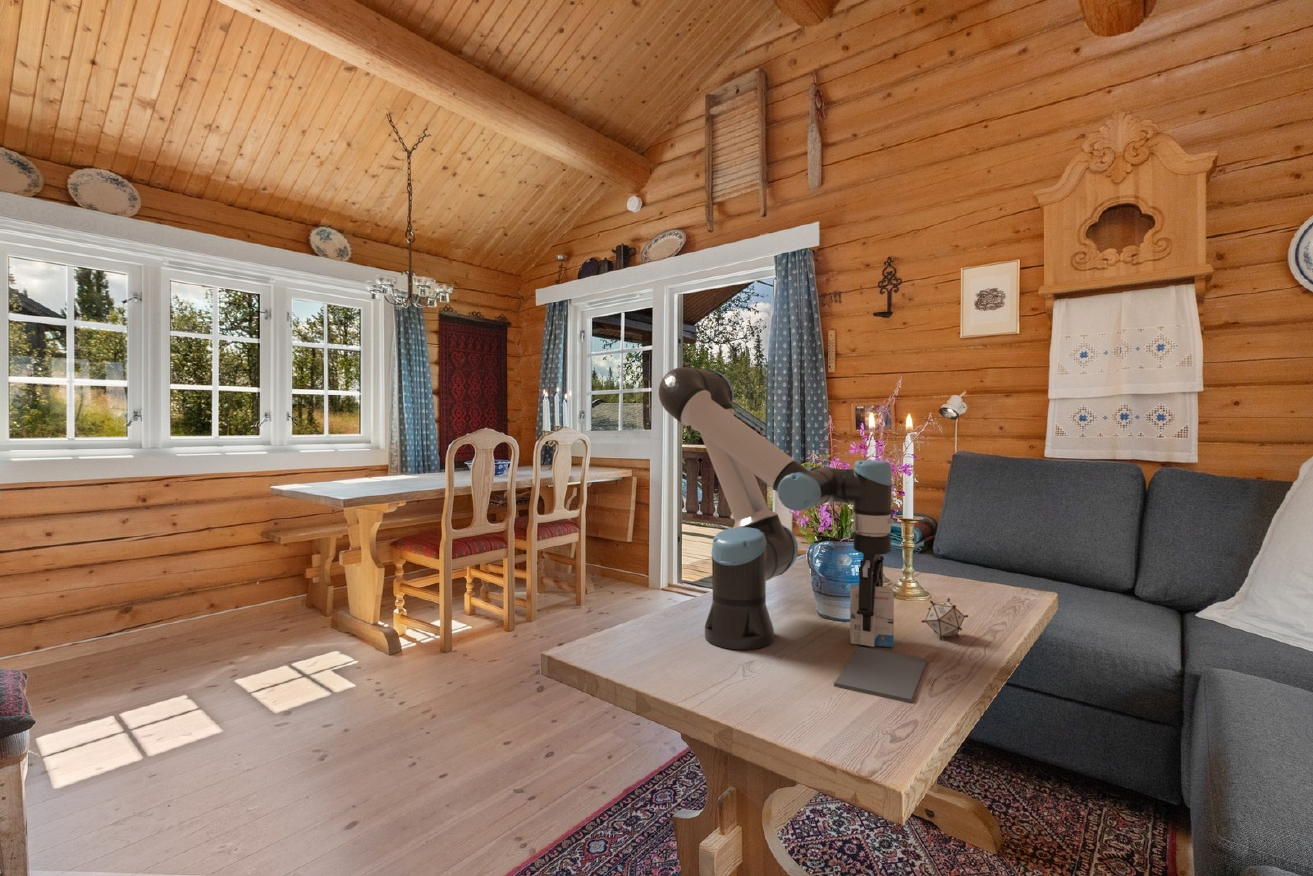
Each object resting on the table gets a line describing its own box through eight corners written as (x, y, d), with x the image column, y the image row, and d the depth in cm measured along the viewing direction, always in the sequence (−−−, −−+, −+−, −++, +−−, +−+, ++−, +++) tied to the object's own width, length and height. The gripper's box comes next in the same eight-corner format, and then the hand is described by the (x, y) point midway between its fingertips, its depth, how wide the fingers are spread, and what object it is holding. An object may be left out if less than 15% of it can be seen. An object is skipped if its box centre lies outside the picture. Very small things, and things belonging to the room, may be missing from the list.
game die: (953, 656, 133) (976, 628, 127) (915, 639, 134) (936, 612, 128) (952, 624, 140) (974, 597, 134) (915, 609, 141) (935, 582, 135)
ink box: (891, 640, 132) (891, 586, 132) (893, 648, 127) (894, 592, 127) (849, 636, 134) (850, 583, 134) (850, 644, 129) (851, 589, 129)
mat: (834, 686, 110) (834, 682, 110) (859, 649, 127) (859, 646, 127) (911, 702, 103) (911, 699, 103) (926, 662, 120) (926, 659, 120)
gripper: (881, 542, 120) (880, 658, 121) (898, 527, 136) (897, 629, 137) (843, 538, 124) (841, 651, 125) (863, 524, 140) (862, 624, 141)
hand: (870, 639), depth 131 cm, fingers closed on ink box, 6 cm apart
